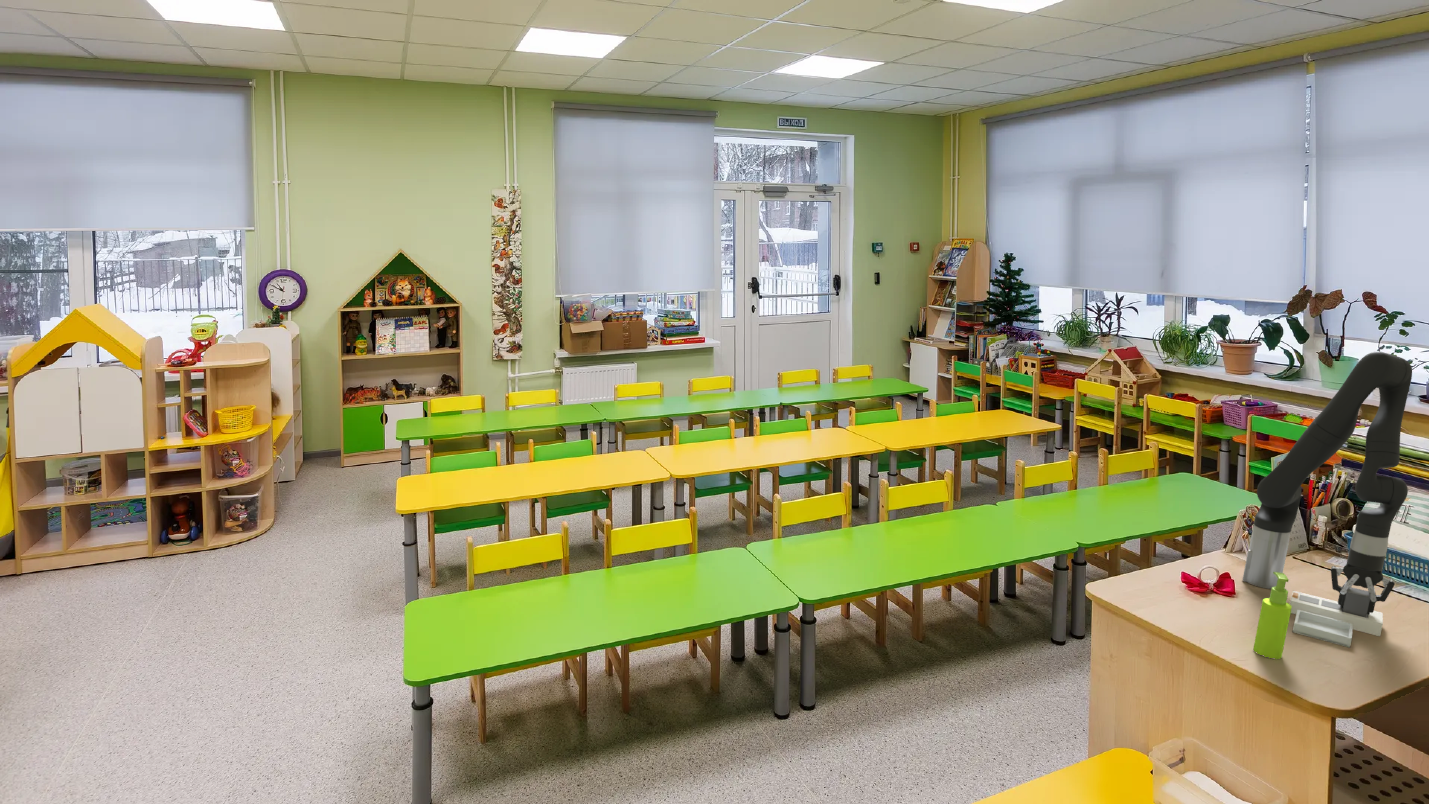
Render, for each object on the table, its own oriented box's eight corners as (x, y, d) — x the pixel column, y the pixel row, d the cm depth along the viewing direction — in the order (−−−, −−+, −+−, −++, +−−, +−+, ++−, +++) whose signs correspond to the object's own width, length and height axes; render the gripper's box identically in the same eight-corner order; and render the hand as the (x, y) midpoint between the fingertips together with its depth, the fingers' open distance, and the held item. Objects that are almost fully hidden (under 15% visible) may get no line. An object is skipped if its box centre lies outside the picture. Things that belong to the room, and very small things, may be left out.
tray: (1292, 632, 219) (1294, 623, 218) (1295, 618, 227) (1297, 609, 227) (1349, 647, 211) (1351, 638, 211) (1350, 632, 220) (1352, 623, 220)
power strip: (1287, 612, 231) (1290, 598, 230) (1290, 602, 238) (1293, 588, 237) (1379, 636, 219) (1383, 621, 218) (1380, 624, 226) (1383, 610, 225)
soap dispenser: (1276, 648, 209) (1291, 572, 205) (1284, 661, 202) (1300, 583, 198) (1249, 643, 211) (1263, 568, 207) (1256, 656, 204) (1271, 578, 200)
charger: (1341, 616, 225) (1346, 591, 224) (1342, 608, 230) (1347, 584, 229) (1364, 622, 222) (1370, 597, 221) (1365, 613, 227) (1370, 589, 226)
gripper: (1333, 546, 223) (1321, 606, 226) (1403, 561, 215) (1388, 623, 218) (1335, 539, 229) (1322, 597, 232) (1402, 553, 220) (1388, 614, 224)
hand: (1354, 609), depth 225 cm, fingers closed on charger, 5 cm apart
